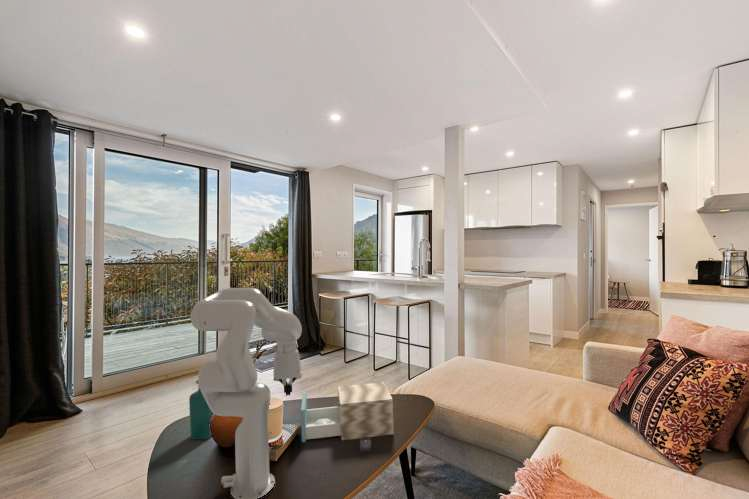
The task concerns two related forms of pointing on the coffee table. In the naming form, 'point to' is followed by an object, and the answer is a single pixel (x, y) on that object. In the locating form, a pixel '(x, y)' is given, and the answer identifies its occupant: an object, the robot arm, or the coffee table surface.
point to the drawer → (315, 414)
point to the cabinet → (365, 410)
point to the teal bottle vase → (199, 416)
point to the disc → (323, 421)
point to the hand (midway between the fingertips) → (288, 394)
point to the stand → (365, 444)
